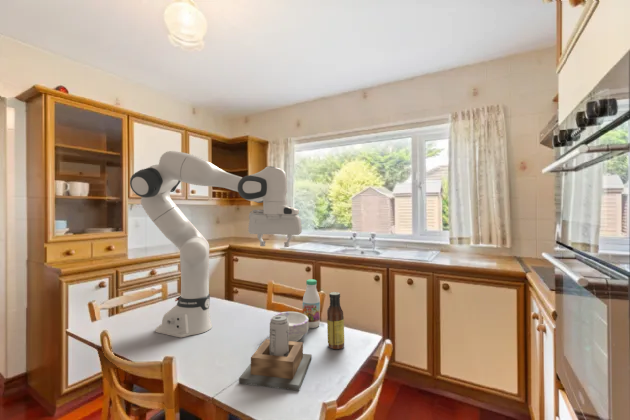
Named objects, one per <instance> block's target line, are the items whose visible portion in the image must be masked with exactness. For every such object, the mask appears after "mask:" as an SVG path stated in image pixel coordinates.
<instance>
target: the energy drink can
mask: <svg viewBox="0 0 630 420" xmlns="http://www.w3.org/2000/svg"><path fill="white" fill-rule="evenodd" d="M274 315H275V314H274ZM272 316H273V315H272ZM272 316H271V317H272ZM270 320H271V319H270ZM269 339H270V346H269V355H274V356H283V357H287V356H288V352H289V322H288V320H287V317H286V316H285V315H275V316H273V317H272V320H271V322H269Z"/></svg>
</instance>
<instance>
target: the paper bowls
mask: <svg viewBox="0 0 630 420" xmlns="http://www.w3.org/2000/svg"><path fill="white" fill-rule="evenodd" d="M275 315H285V316H286V317H287V320H288V322H289V341H294V342H299V341H300V340H301V339H302V338H303V336H304V335H306V334H307V333H308V332H309V328H308V324H309V323H308V320H309V319H308V317H307V316H306V315H305V314H302V312H298V311H282V312H279V313H276V314H274V315H272V316H271V317H270V322H271V320H272V317H273V316H275ZM270 322H269V323H270Z"/></svg>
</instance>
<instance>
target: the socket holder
mask: <svg viewBox="0 0 630 420" xmlns="http://www.w3.org/2000/svg"><path fill="white" fill-rule="evenodd" d="M269 346H270V338H265V339H264V341H263V342H262V343H261V344H260V346H259V347H258V348H257V349H256V350H255V352H254V353H253V354H252V355H251V356H250V363H249V365H248V366H247V367H246V368H245V370H244V371H243V372H242V373H241V375H240V376H239V377H238V383H239V384H243V385H250V386H257V387H258V386H259V387H266V388H267V387H268V388H272V389H273V388H274V389H282V390H291V391H298V392H299V391H300V389H301V387H302V385H303V383H304V378H305V377H306V374H307V371H308V369H309V367H310V365H311V361H312V359H313V358H312V356H313V355H312V354H310V353H309V354H308V353H304V342H302V341H295V342H294V341H289V352H288V356H287V357H283V356H274V355H269Z"/></svg>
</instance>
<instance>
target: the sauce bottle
mask: <svg viewBox="0 0 630 420" xmlns="http://www.w3.org/2000/svg"><path fill="white" fill-rule="evenodd" d="M328 296H329V307H328V308H327V311H326V312H327V313H326V315H327V319H326V321H327V324H326V325H327V344H328V347H329V348H330V349H333V350H341V349H343V348H344V346H345V323H344V322H345V319H344V318H345V317H344V311H343V309H342V307H341V301H340V299H341V293H340V292H338V291H337V292H336V291H332V292H329V294H328Z"/></svg>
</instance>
